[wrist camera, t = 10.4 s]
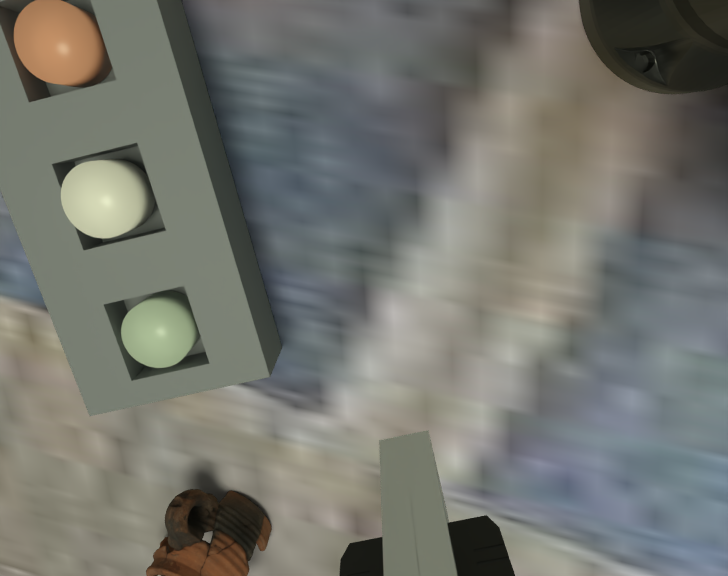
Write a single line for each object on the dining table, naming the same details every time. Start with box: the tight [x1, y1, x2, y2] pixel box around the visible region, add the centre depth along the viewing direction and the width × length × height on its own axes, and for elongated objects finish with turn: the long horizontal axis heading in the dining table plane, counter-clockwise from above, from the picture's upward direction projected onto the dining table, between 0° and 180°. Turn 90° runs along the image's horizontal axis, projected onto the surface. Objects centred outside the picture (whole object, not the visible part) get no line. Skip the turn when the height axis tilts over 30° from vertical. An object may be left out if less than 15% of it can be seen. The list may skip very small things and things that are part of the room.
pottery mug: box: [146, 489, 271, 576], centre depth 50 cm, size 12×10×8 cm
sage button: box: [121, 291, 200, 368], centre depth 42 cm, size 5×5×3 cm
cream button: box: [61, 159, 155, 238], centre depth 39 cm, size 5×5×3 cm
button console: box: [0, 0, 282, 416], centre depth 41 cm, size 14×30×6 cm, turn 13°
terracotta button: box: [14, 0, 112, 88], centre depth 37 cm, size 5×5×3 cm
